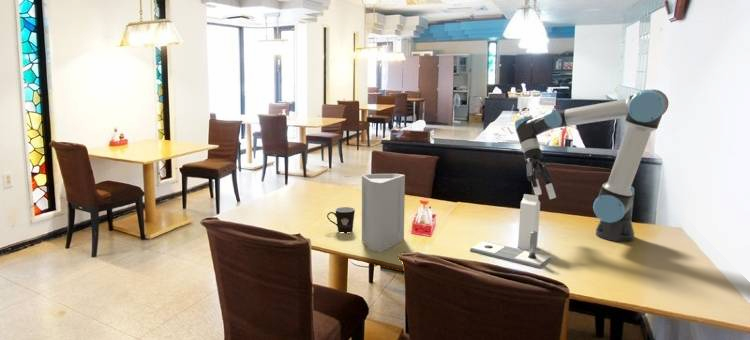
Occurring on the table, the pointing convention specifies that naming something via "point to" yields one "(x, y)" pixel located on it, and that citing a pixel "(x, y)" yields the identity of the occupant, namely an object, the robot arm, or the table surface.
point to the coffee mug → (344, 219)
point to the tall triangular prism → (382, 210)
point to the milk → (528, 220)
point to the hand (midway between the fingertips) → (546, 196)
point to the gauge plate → (510, 254)
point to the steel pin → (533, 244)
